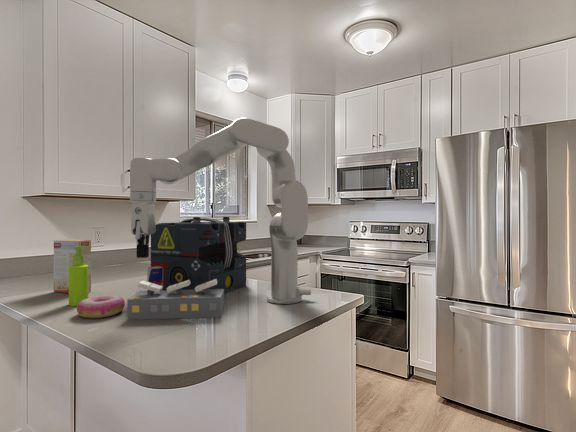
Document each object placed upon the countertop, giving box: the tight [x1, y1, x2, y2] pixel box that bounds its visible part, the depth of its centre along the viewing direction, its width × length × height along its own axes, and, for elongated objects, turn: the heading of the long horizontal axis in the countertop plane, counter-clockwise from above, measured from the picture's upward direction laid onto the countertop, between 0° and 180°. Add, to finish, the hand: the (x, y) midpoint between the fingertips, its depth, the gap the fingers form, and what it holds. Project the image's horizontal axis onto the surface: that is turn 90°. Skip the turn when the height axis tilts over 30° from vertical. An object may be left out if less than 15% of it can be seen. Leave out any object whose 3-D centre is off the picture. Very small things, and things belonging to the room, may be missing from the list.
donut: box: [76, 294, 126, 319], centre depth 111 cm, size 14×13×5 cm
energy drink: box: [146, 266, 163, 291], centre depth 127 cm, size 5×5×12 cm
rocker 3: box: [195, 279, 217, 292], centre depth 113 cm, size 7×4×1 cm, turn 96°
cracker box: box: [53, 239, 92, 294], centre depth 142 cm, size 14×6×21 cm, turn 69°
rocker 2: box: [167, 280, 191, 292], centre depth 112 cm, size 7×4×1 cm, turn 96°
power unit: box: [150, 216, 247, 295], centre depth 147 cm, size 28×28×30 cm
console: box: [126, 288, 225, 321], centre depth 112 cm, size 27×12×8 cm, turn 96°
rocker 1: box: [137, 280, 163, 293], centre depth 111 cm, size 7×4×1 cm, turn 96°
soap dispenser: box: [68, 246, 92, 307], centre depth 124 cm, size 6×7×20 cm
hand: (142, 257), depth 110 cm, fingers closed
